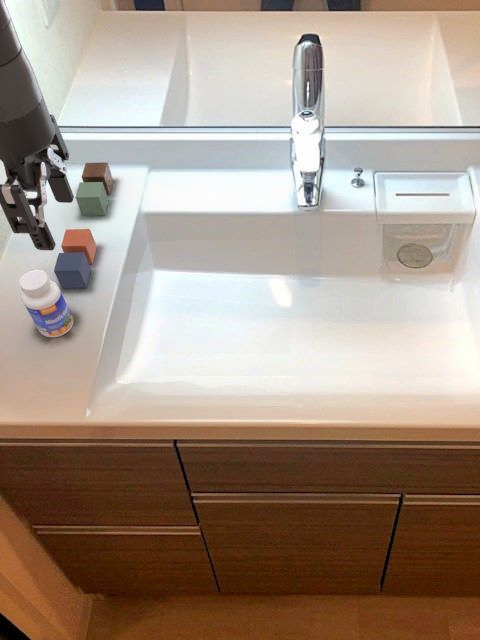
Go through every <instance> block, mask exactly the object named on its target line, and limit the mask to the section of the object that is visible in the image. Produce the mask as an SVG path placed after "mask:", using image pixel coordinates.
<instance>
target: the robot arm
mask: <svg viewBox="0 0 480 640" xmlns="http://www.w3.org/2000/svg"><path fill="white" fill-rule="evenodd" d="M55 117H56V116H55V115H54V114H50V112H49V109H48V105H47V103H46V101H45V98H44V95H43V92H42V90H41V87H40V84H39V82H38V79H37V76H36V74H35V71H34V68H33V66H32V63H31V62H30V60H29V58H28V56H27V53H26V52H25V50H24V48H23V46H22V43H21V40H20V38H19V35H18V32H17V30H16V27H15V24H14V22H13V19H12V17H11V13H10V11H9V9H8V6H7V4H6V0H0V161H1V162H2V164H3V166H4V171H5V175H6V180H5V182H4V183H0V207H1V209H2V211H3V214H4V215H5V218H6V220H7V223H8V224H9V226H10V229H11V231H12V233H13V234H18V235H19V234H27V235H29V238H30V240H31V241H32V244H33V246H34V248H35V249H36V250H38V251H54V249H55V247H56V245H57V244H56V241H55V240H54V237H53V235H52V232H51V230H50V228H49V226H48V223H47V221H46V220H45V219H46V218H45V211H44V210H45V209H44V207H45V206H46V205H47V204H48V197H47V187H46V186H47V185H46V184H47V183H48V185H49V187H50V190H51V192H52V196H53V197H54V199H55V201H56V202H58V203H61V204H62V203H65V204H71V203H73V201H74V199H75V195H74V192H73V189H72V188H71V185H70V182H69V179H68V176H67V172H68V167H67V165H66V163H65V161H69V159H70V153H69V151H68V150H69V149H68V148H67V145H66V142H65V139H64V138H63V137H64V136H63V135H62V132H61V129H60V127H59V125H58V122H57V120H56V118H55ZM51 146H56V147H57V149H54V148H52V147H51ZM27 193H36V196H35V197H28V194H27ZM31 206H33V207H34V213H33V210H32V208H31ZM34 214H35V215H34Z"/></svg>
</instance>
